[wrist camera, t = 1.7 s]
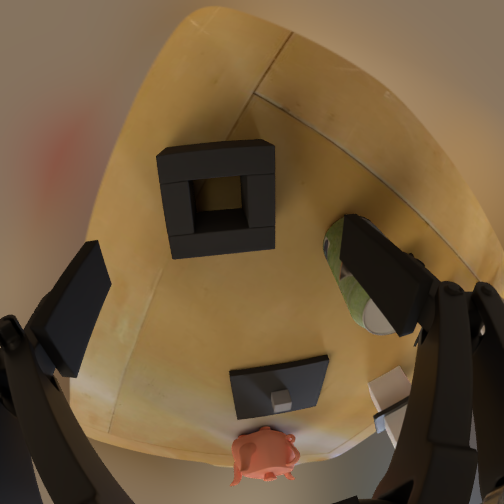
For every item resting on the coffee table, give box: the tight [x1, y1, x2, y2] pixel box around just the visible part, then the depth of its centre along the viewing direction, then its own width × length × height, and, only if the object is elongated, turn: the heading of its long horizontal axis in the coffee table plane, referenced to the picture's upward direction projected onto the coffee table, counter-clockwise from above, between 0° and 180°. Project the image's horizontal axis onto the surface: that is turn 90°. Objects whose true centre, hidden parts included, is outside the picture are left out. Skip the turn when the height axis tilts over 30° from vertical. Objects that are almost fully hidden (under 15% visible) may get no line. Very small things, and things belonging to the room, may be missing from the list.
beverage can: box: [323, 216, 396, 335], centre depth 22 cm, size 6×7×12 cm
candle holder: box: [368, 365, 411, 448], centre depth 39 cm, size 25×24×16 cm
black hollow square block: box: [156, 139, 275, 259], centre depth 21 cm, size 8×8×4 cm
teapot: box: [230, 426, 300, 486], centre depth 43 cm, size 14×14×11 cm
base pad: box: [229, 355, 329, 420], centre depth 38 cm, size 14×14×4 cm
